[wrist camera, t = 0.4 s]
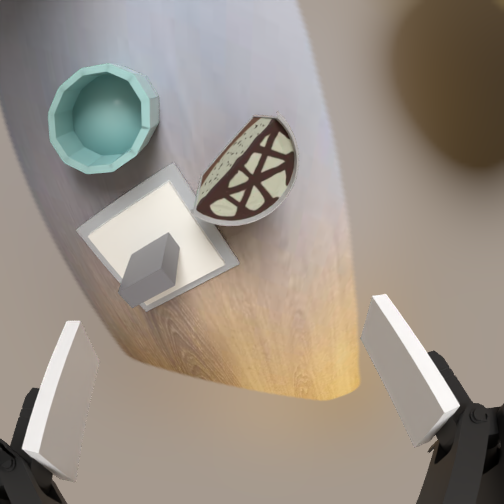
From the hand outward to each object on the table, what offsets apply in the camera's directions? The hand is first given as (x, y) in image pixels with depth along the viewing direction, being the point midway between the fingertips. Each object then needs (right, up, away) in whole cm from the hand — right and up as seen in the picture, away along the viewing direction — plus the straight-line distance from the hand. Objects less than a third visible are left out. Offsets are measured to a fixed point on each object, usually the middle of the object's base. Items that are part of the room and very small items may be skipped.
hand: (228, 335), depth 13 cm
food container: (0, +14, +22) cm, 27 cm away
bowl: (-15, +19, +17) cm, 30 cm away
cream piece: (-11, +4, +26) cm, 28 cm away
